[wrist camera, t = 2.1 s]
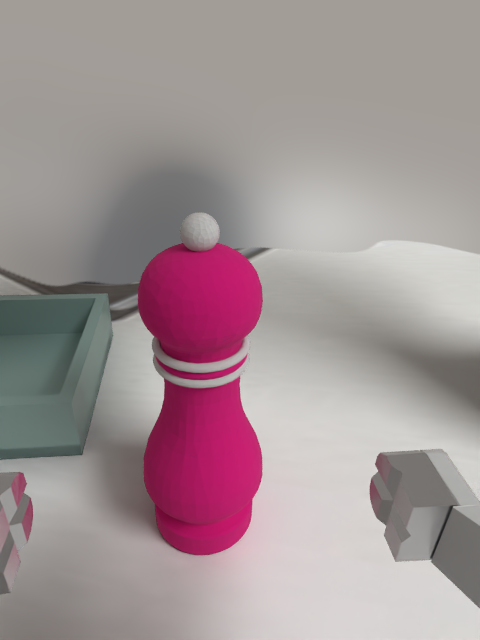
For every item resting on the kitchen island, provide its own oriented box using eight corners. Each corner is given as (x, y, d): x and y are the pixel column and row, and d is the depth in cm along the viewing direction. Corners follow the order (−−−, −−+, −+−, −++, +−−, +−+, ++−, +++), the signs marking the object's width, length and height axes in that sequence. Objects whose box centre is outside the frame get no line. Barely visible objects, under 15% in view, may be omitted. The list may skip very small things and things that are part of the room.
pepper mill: (180, 588, 25) (159, 254, 16) (131, 497, 31) (91, 203, 21) (281, 526, 29) (316, 223, 19) (222, 454, 34) (225, 186, 24)
